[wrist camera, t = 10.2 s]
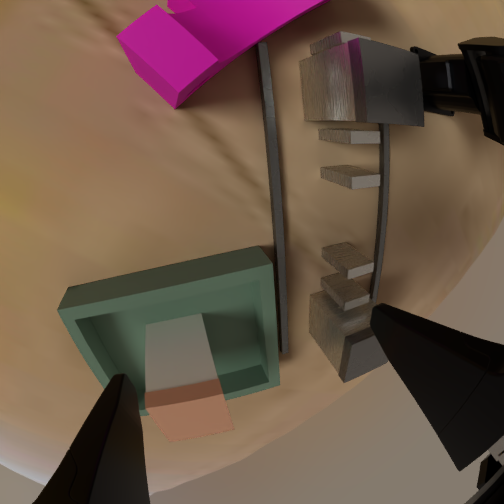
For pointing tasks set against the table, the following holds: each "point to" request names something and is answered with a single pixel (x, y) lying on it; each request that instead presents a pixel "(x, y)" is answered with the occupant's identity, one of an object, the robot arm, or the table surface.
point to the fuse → (183, 380)
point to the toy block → (201, 39)
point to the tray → (176, 306)
